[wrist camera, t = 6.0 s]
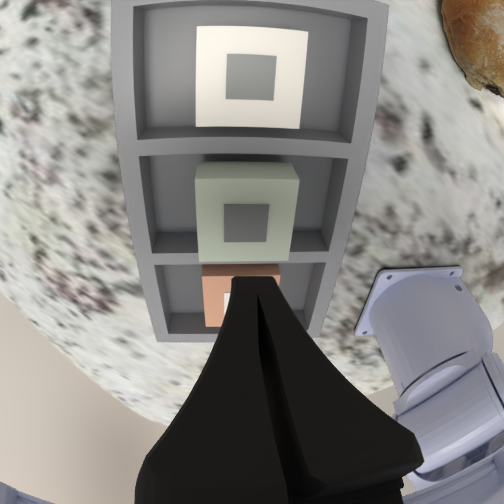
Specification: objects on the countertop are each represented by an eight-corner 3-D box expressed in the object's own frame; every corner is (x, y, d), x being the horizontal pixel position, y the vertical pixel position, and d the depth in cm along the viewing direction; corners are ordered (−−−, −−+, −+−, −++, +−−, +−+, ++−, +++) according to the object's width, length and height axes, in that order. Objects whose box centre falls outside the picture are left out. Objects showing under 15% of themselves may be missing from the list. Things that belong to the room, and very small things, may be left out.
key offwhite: (297, 33, 12) (309, 31, 10) (290, 118, 15) (299, 129, 13) (200, 28, 12) (196, 25, 10) (199, 116, 14) (195, 127, 13)
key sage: (290, 162, 15) (300, 180, 13) (282, 238, 18) (288, 261, 16) (197, 161, 15) (194, 179, 13) (200, 238, 17) (198, 263, 16)
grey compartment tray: (361, 8, 12) (389, 4, 10) (309, 306, 26) (318, 337, 23) (131, -2, 11) (111, -11, 9) (161, 309, 24) (157, 341, 22)
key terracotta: (275, 253, 20) (280, 276, 18) (269, 303, 23) (273, 326, 21) (203, 254, 19) (201, 277, 18) (206, 304, 22) (205, 327, 21)
